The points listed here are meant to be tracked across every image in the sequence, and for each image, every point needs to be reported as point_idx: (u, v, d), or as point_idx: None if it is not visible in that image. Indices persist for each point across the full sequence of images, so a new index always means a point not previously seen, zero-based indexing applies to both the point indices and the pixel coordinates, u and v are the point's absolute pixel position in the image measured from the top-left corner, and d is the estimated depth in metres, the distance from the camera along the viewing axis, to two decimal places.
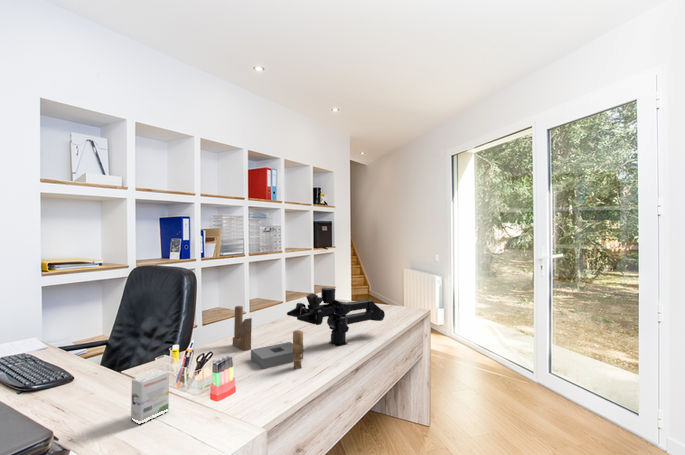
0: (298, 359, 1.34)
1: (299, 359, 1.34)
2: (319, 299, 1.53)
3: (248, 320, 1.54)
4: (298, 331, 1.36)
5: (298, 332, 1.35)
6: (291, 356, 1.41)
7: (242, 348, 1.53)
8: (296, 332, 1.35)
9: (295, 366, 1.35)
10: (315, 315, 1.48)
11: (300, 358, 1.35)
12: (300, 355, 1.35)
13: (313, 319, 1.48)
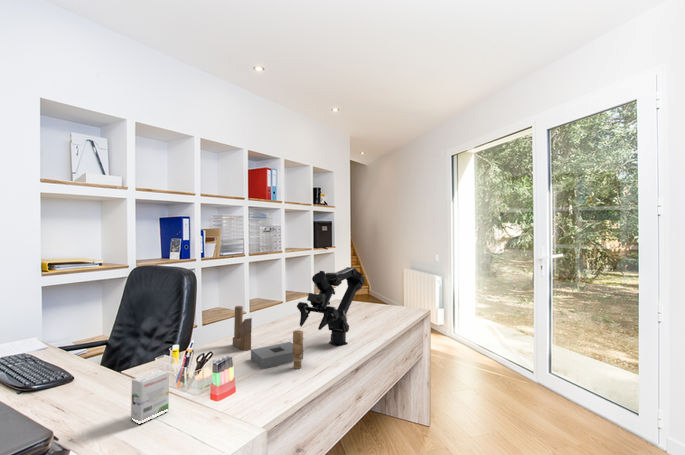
0: (298, 359, 1.34)
1: (299, 359, 1.34)
2: (323, 297, 1.44)
3: (248, 320, 1.54)
4: (298, 331, 1.36)
5: (298, 332, 1.35)
6: (291, 356, 1.41)
7: (242, 348, 1.53)
8: (296, 332, 1.35)
9: (295, 366, 1.35)
10: (331, 314, 1.43)
11: (300, 358, 1.35)
12: (300, 355, 1.35)
13: (331, 318, 1.44)
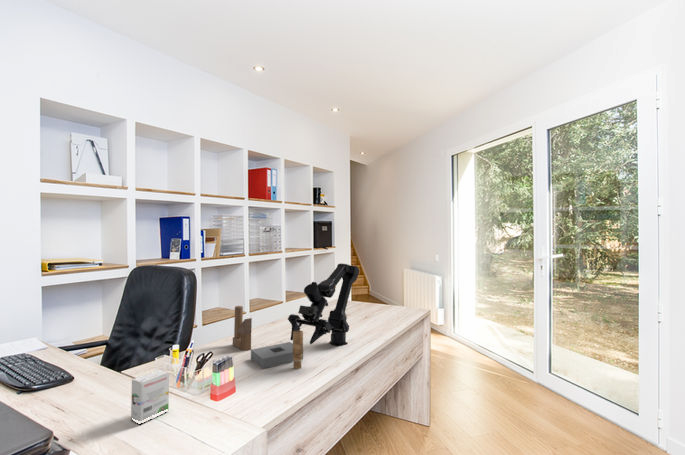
0: (298, 359, 1.34)
1: (299, 359, 1.34)
2: (314, 309, 1.39)
3: (248, 320, 1.54)
4: (298, 331, 1.36)
5: (298, 332, 1.35)
6: (291, 356, 1.41)
7: (242, 348, 1.53)
8: (296, 332, 1.35)
9: (295, 366, 1.35)
10: (323, 328, 1.38)
11: (300, 358, 1.35)
12: (300, 355, 1.35)
13: (323, 331, 1.39)
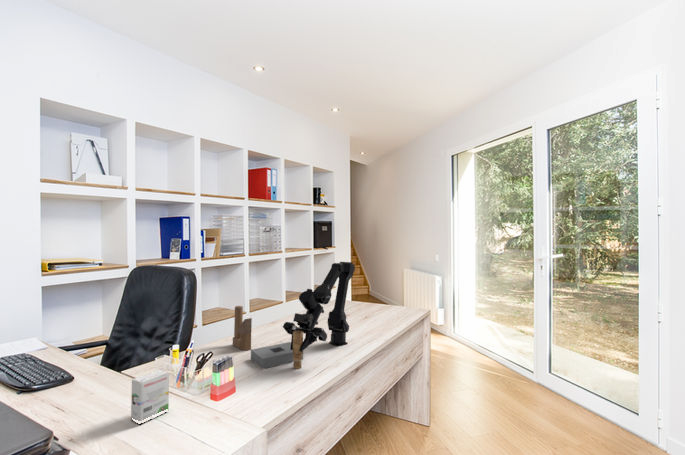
0: (298, 359, 1.34)
1: (299, 359, 1.34)
2: (310, 317, 1.36)
3: (248, 320, 1.54)
4: (298, 331, 1.36)
5: (298, 332, 1.35)
6: (291, 356, 1.41)
7: (242, 348, 1.53)
8: (296, 332, 1.35)
9: (295, 366, 1.35)
10: (313, 335, 1.36)
11: (300, 358, 1.35)
12: (300, 355, 1.35)
13: (313, 338, 1.37)
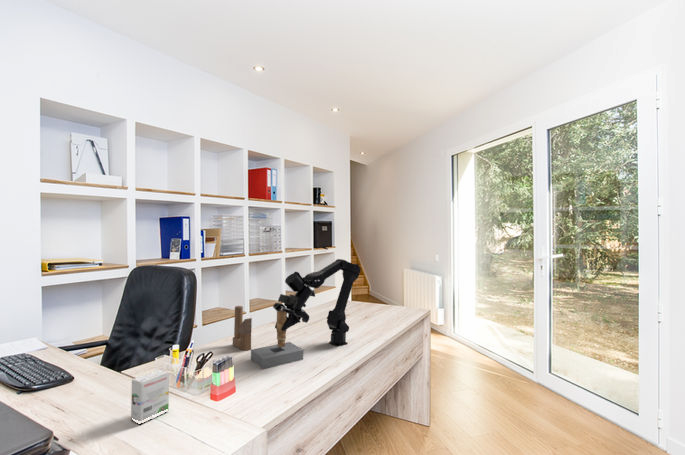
0: (280, 338, 1.40)
1: (281, 338, 1.40)
2: (292, 298, 1.40)
3: (248, 320, 1.54)
4: (282, 311, 1.42)
5: (281, 312, 1.41)
6: (291, 356, 1.41)
7: (242, 348, 1.53)
8: (279, 312, 1.41)
9: (278, 344, 1.41)
10: (295, 316, 1.40)
11: (283, 337, 1.40)
12: (283, 334, 1.40)
13: (296, 319, 1.41)
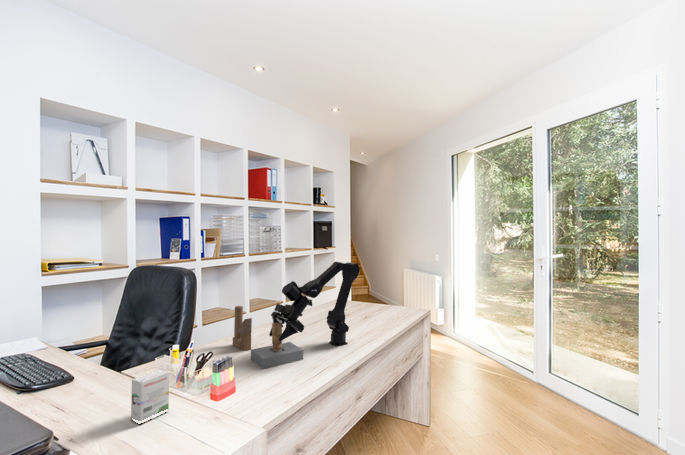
0: (276, 349, 1.42)
1: (277, 349, 1.42)
2: (287, 308, 1.42)
3: (248, 320, 1.54)
4: (277, 323, 1.44)
5: (276, 324, 1.43)
6: (291, 356, 1.41)
7: (242, 348, 1.53)
8: (274, 324, 1.43)
9: None
10: (293, 326, 1.40)
11: (278, 349, 1.42)
12: (278, 346, 1.42)
13: (293, 330, 1.41)
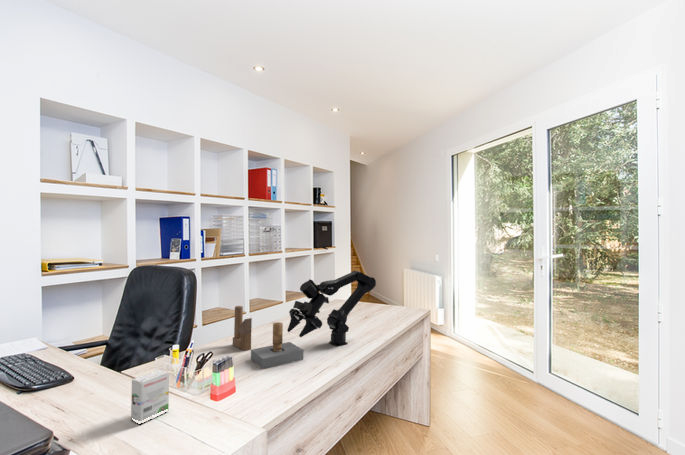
0: (276, 349, 1.42)
1: (277, 349, 1.42)
2: (306, 305, 1.48)
3: (248, 320, 1.54)
4: (278, 323, 1.44)
5: (277, 324, 1.43)
6: (291, 356, 1.41)
7: (242, 348, 1.53)
8: (275, 324, 1.43)
9: None
10: (312, 323, 1.46)
11: (278, 349, 1.42)
12: (278, 346, 1.42)
13: (313, 326, 1.47)
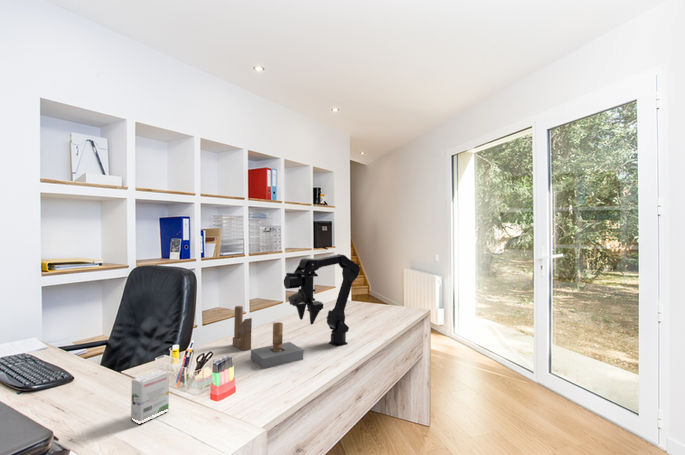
0: (276, 349, 1.42)
1: (277, 349, 1.42)
2: (298, 299, 1.47)
3: (248, 320, 1.54)
4: (278, 323, 1.44)
5: (277, 324, 1.43)
6: (291, 356, 1.41)
7: (242, 348, 1.53)
8: (275, 324, 1.43)
9: None
10: (314, 310, 1.47)
11: (278, 349, 1.42)
12: (278, 346, 1.42)
13: None
